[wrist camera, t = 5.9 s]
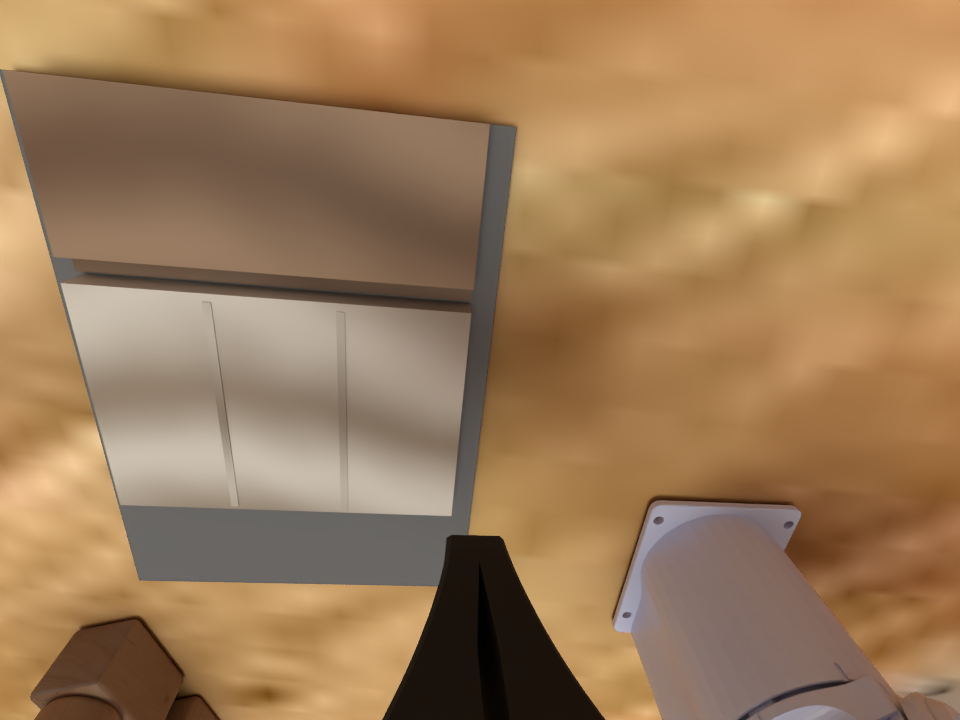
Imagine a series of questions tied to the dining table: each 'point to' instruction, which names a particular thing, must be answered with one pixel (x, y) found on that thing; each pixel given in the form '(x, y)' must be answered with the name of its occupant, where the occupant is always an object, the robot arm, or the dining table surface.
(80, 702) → the brown wooden upright frame
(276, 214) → the laid plank
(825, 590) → the dining table surface
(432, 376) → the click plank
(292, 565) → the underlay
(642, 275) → the dining table surface
